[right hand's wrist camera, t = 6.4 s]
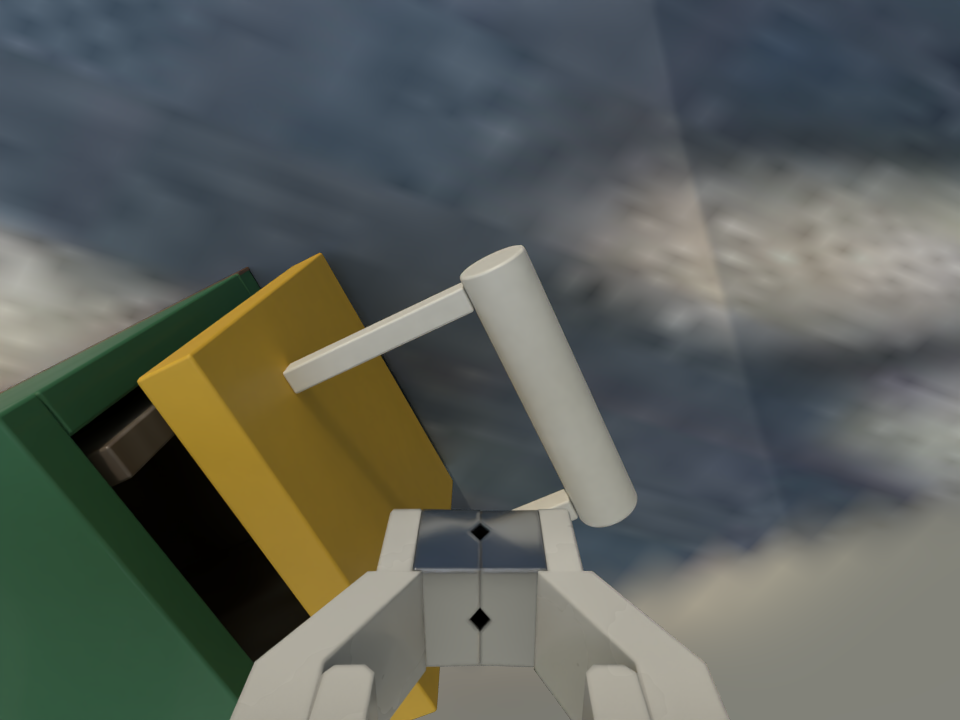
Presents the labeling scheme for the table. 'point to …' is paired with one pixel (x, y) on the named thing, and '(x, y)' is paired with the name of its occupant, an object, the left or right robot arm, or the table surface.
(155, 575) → the cabinet
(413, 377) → the table surface
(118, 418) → the drawer
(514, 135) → the table surface
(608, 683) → the right robot arm
